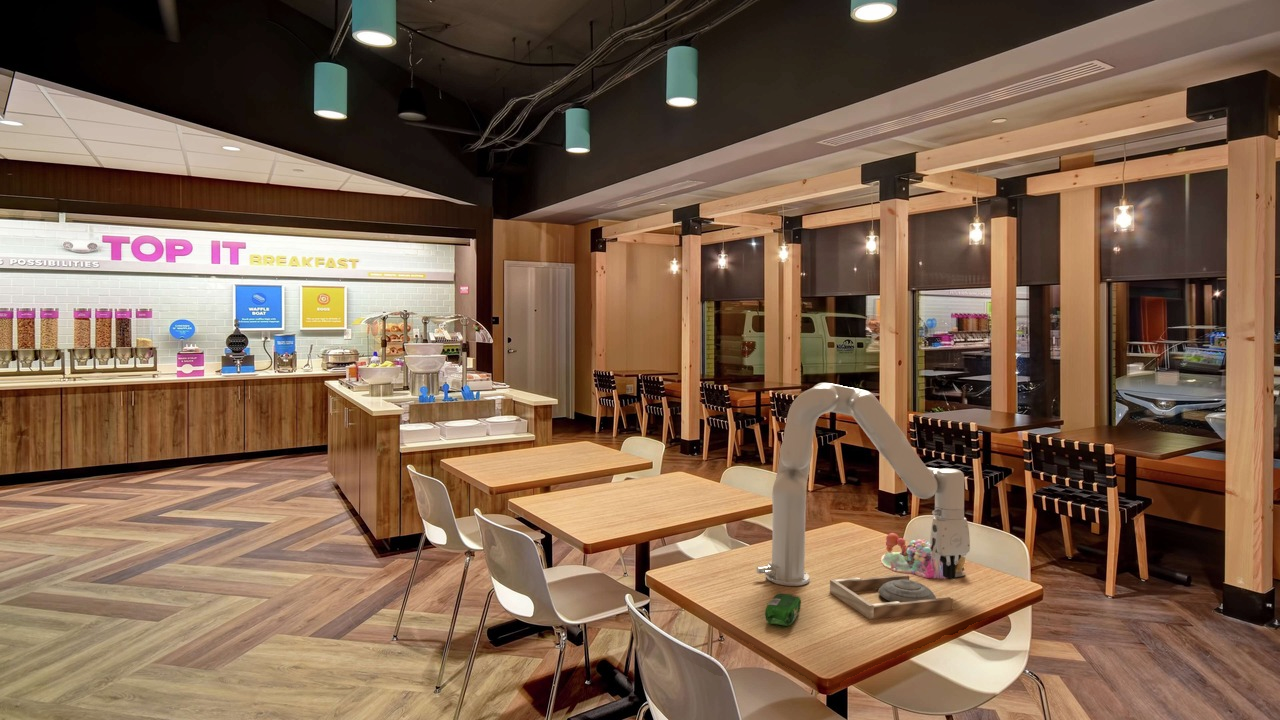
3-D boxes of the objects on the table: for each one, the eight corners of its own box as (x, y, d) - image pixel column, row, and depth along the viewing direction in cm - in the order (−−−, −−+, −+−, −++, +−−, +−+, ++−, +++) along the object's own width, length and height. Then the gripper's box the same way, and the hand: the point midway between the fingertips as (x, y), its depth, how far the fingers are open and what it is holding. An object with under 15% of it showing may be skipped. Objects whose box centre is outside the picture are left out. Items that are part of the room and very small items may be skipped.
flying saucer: (871, 589, 201) (871, 570, 201) (923, 590, 201) (924, 571, 201) (888, 610, 186) (888, 589, 186) (944, 611, 186) (945, 590, 186)
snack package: (761, 628, 174) (761, 608, 173) (777, 606, 188) (777, 587, 187) (789, 634, 170) (790, 614, 170) (803, 611, 185) (804, 592, 184)
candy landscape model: (950, 557, 232) (951, 529, 231) (978, 582, 208) (979, 551, 208) (873, 554, 234) (873, 526, 233) (892, 578, 210) (893, 548, 210)
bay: (869, 619, 180) (869, 605, 179) (829, 591, 198) (830, 579, 198) (952, 609, 186) (952, 597, 186) (906, 584, 205) (906, 572, 205)
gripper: (935, 518, 190) (935, 585, 191) (981, 514, 194) (980, 579, 195) (917, 512, 198) (917, 576, 198) (962, 508, 202) (961, 570, 202)
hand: (949, 577), depth 197 cm, fingers closed
